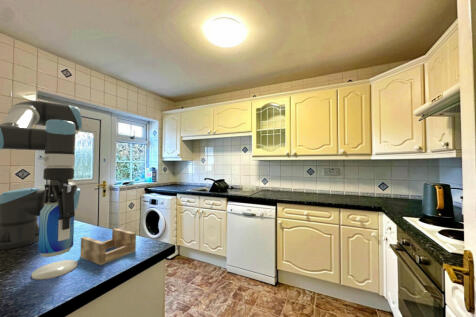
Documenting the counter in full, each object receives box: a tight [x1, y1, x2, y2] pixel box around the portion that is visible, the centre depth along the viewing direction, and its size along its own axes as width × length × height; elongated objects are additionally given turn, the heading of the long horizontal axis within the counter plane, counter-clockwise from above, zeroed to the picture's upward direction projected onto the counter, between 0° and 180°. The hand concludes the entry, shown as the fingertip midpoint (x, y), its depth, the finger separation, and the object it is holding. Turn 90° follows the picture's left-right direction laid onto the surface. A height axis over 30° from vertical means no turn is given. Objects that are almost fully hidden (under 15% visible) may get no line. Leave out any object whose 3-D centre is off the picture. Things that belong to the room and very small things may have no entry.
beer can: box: [37, 202, 75, 258], centre depth 65 cm, size 8×8×16 cm
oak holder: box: [80, 227, 137, 266], centre depth 77 cm, size 13×13×7 cm
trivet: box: [31, 259, 79, 281], centre depth 65 cm, size 11×11×1 cm
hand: (57, 237), depth 65 cm, fingers closed on beer can, 8 cm apart
